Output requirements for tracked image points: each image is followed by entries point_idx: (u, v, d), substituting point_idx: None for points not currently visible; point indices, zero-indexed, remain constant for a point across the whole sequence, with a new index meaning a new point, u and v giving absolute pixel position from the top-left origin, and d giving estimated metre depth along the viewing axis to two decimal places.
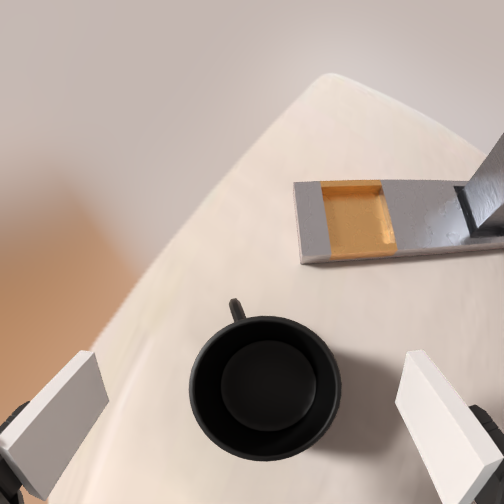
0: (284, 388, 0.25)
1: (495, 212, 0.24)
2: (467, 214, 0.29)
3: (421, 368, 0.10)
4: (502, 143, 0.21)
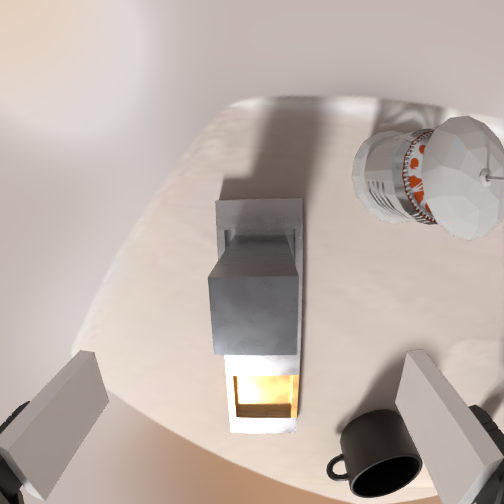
0: None
1: None
2: None
3: (421, 368, 0.10)
4: None
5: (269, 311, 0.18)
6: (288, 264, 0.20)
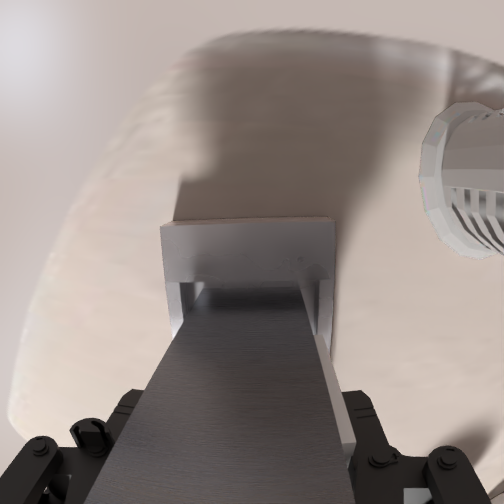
0: None
1: None
2: None
3: None
4: None
5: None
6: (326, 471, 0.05)
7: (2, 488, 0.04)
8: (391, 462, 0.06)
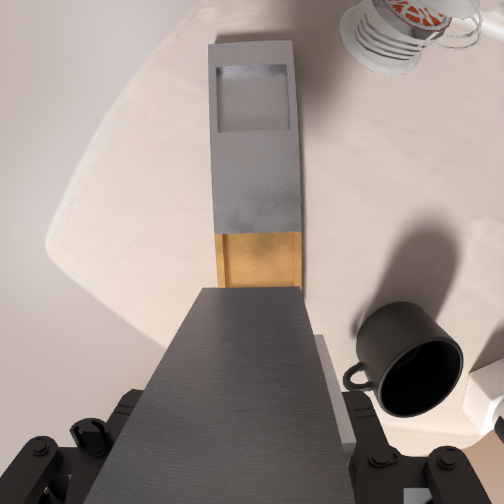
0: None
1: None
2: None
3: None
4: None
5: None
6: (327, 471, 0.05)
7: (2, 488, 0.04)
8: (390, 462, 0.06)
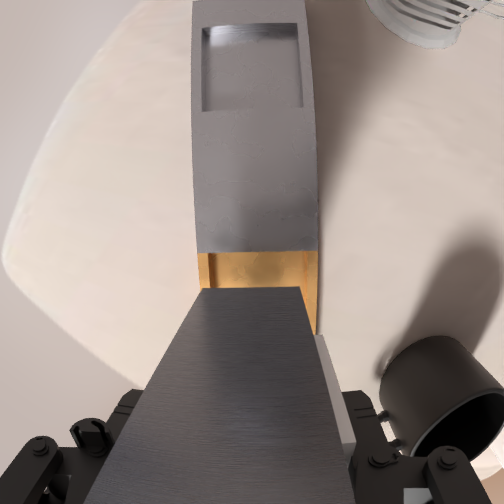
0: None
1: None
2: None
3: None
4: None
5: None
6: (326, 471, 0.05)
7: (2, 488, 0.04)
8: (391, 462, 0.06)
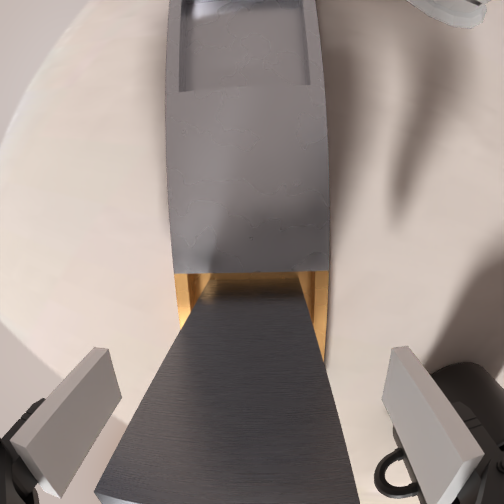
0: None
1: None
2: None
3: (405, 364, 0.10)
4: None
5: None
6: (322, 426, 0.06)
7: None
8: None
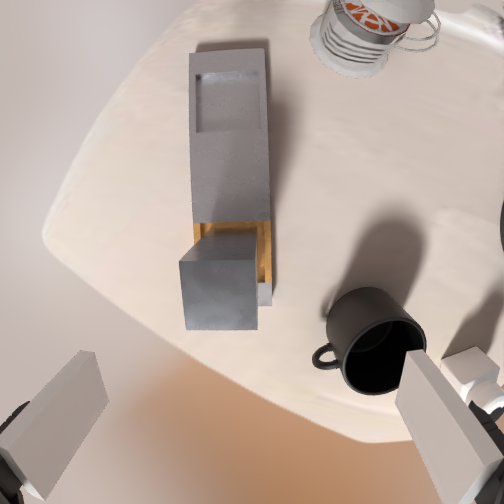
0: None
1: None
2: None
3: (421, 368, 0.10)
4: None
5: (231, 290, 0.21)
6: (249, 251, 0.23)
7: None
8: None
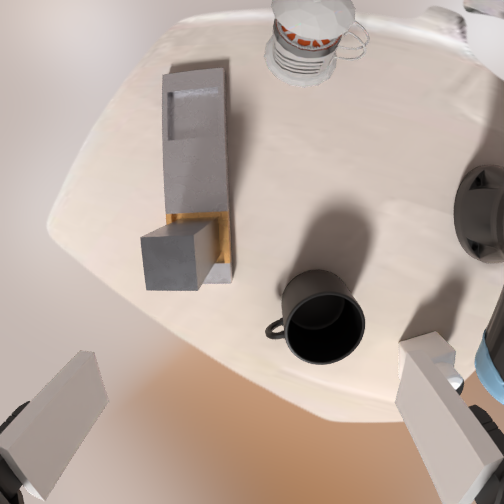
0: None
1: (212, 263, 0.36)
2: None
3: (421, 367, 0.10)
4: None
5: (177, 259, 0.28)
6: (195, 230, 0.29)
7: None
8: None
